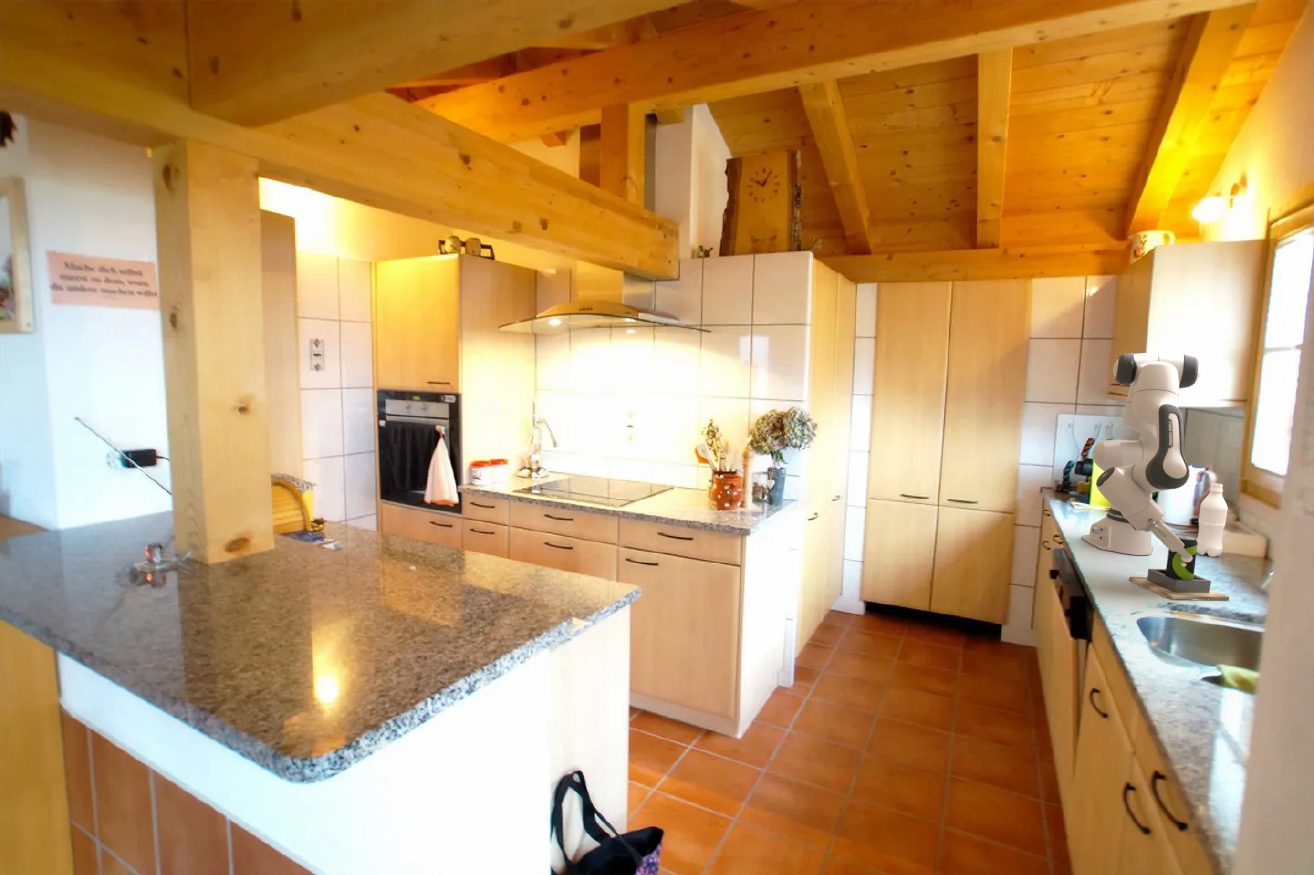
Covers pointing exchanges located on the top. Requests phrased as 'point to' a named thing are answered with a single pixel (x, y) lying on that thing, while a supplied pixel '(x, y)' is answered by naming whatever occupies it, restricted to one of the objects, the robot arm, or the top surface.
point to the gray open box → (1178, 582)
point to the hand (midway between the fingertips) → (1184, 553)
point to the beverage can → (1182, 560)
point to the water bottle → (1212, 522)
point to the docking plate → (1163, 591)
